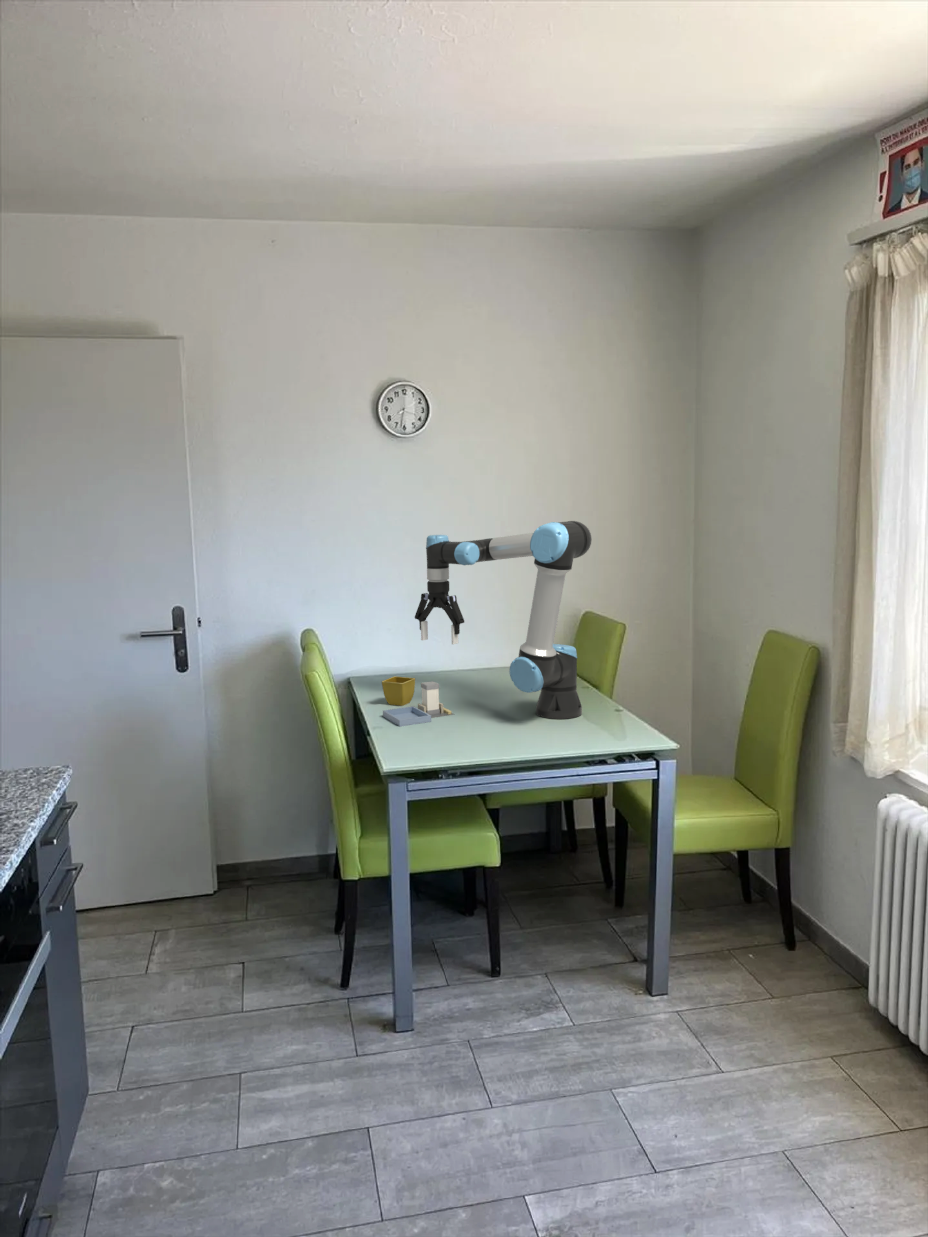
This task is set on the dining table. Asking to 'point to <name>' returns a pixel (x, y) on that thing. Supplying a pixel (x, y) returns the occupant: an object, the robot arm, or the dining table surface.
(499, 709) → the dining table surface
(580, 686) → the dining table surface
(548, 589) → the robot arm
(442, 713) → the block
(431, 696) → the block
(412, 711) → the tray
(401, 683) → the flower pot
